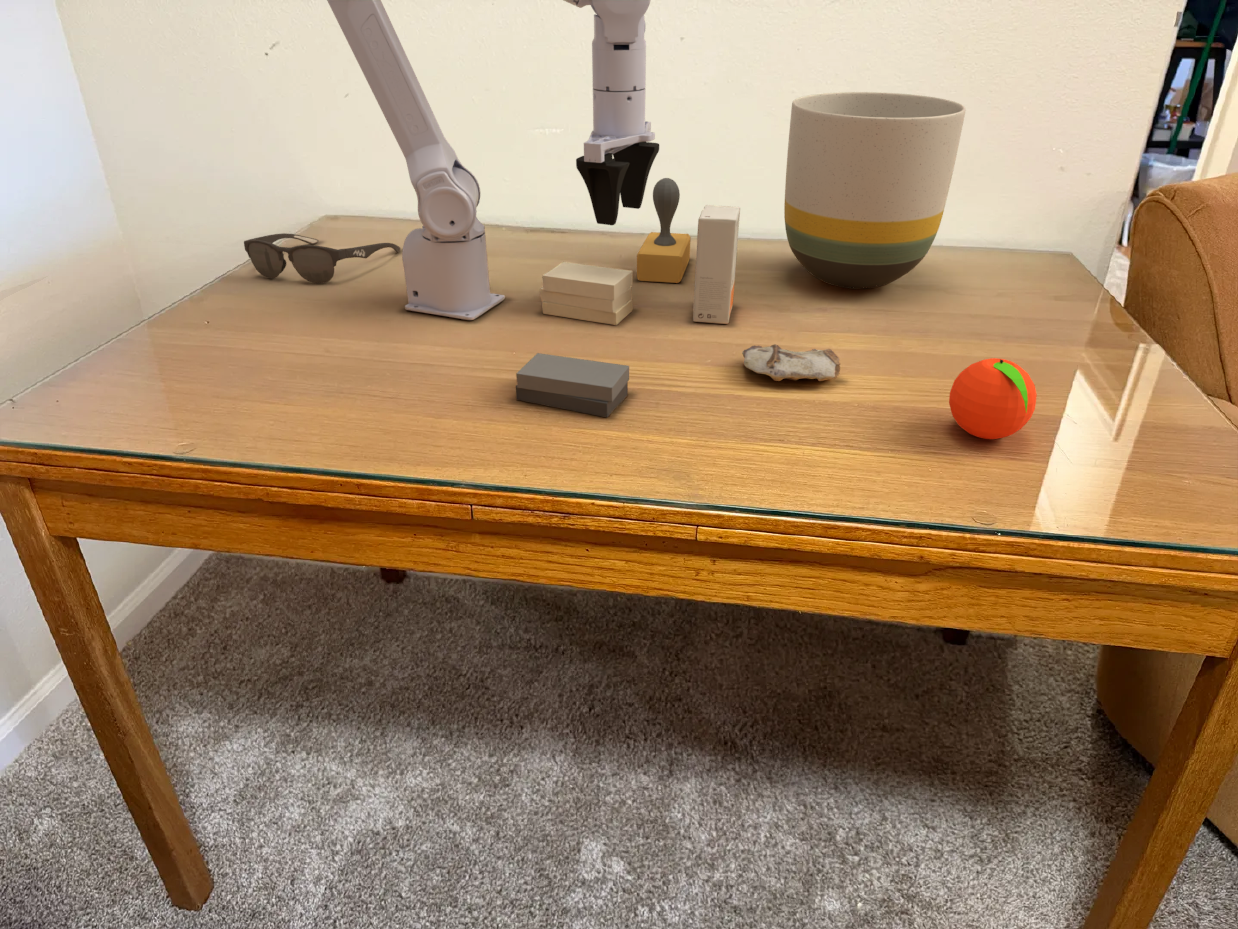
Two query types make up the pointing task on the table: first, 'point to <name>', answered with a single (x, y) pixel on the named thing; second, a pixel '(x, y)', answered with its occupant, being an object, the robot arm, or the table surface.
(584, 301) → the white books
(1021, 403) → the clementine
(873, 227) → the planter
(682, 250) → the rubber stamp
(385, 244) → the sunglasses
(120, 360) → the table surface
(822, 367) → the stone
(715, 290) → the cosmetic box
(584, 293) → the cream rectangular block
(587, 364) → the grey books
